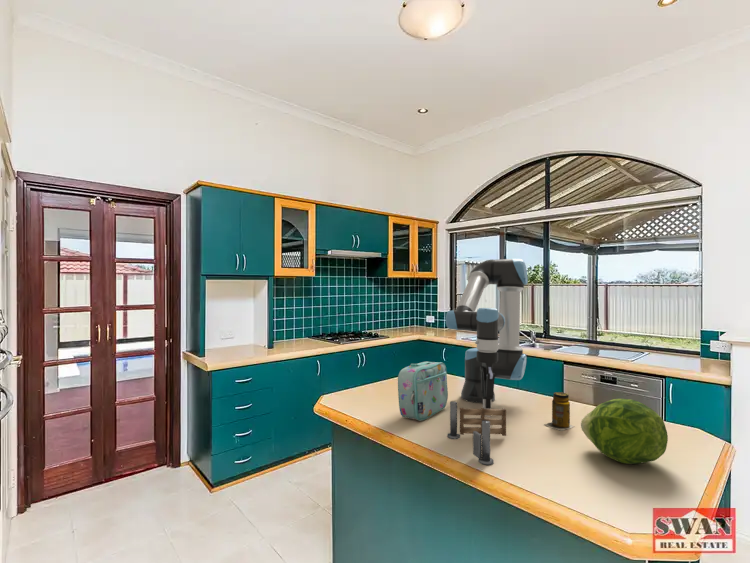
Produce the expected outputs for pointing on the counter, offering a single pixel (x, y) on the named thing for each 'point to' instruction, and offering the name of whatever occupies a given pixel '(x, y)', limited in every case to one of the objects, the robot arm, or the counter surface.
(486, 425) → the post
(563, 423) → the condiment
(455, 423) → the hinge post
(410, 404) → the lunch box
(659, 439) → the lettuce
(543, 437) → the counter surface
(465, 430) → the gate
